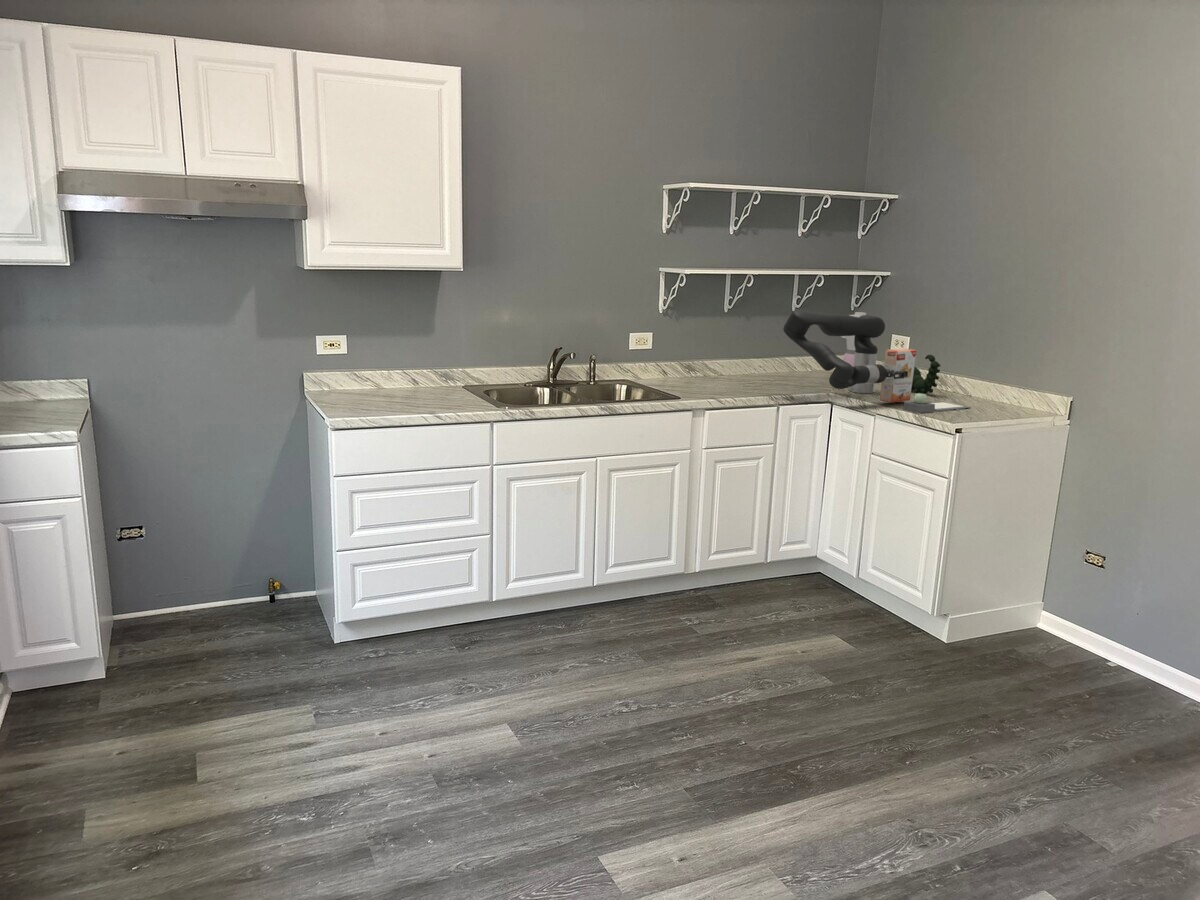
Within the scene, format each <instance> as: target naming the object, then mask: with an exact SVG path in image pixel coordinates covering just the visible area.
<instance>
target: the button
mask: <svg viewBox="0 0 1200 900" xmlns="http://www.w3.org/2000/svg"><path fill="white" fill-rule="evenodd" d="M913 401H914V403H915V404H920V405H923V404H925V403H927V402H926V401H927V393H926V394H925V393H919V392H918V393H916V394H915V393H914V400H913Z"/></svg>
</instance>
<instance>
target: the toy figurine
mask: <svg viewBox="0 0 1200 900" xmlns="http://www.w3.org/2000/svg"><path fill="white" fill-rule="evenodd" d="M924 359H925V360H927V359H928V361H929V362H930V364H929V365H930V366H929V368H928V373H926V377H925V378H924V377H923V376H922V373H921V371H920V370H919V368H917V366H914V373H913V380H912V388H911V392H913V393H914V394H915V393H919V394H925V393H926V394H928V393H929V394H933V392H934V389H933V388H937V387H938V384H937V382H936V380H937V381H938V380H939V378H940V377H939V375H937V374H938V373H940V372H941V370H940V369H939V367H941V364H940V363H939V362H938V361H937V360H936V357H935V355H932V354H927V355H926V356H925V358H924Z"/></svg>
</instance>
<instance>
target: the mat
mask: <svg viewBox="0 0 1200 900" xmlns="http://www.w3.org/2000/svg"><path fill="white" fill-rule="evenodd" d="M929 403H931V404H935V409H934V412H937V411H939V412H945V411H944V410H951V411H955V410H954V409H962V410H965V409H964V408H971V407H970V406H967V405H961V404H956V403H952V402H951V403H950V402H947V401H945V402H944V401H931V402H929Z"/></svg>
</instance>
